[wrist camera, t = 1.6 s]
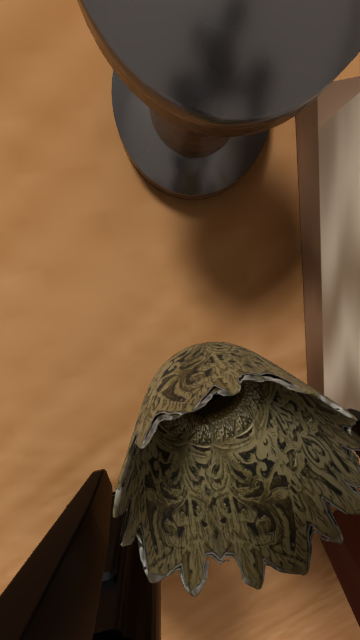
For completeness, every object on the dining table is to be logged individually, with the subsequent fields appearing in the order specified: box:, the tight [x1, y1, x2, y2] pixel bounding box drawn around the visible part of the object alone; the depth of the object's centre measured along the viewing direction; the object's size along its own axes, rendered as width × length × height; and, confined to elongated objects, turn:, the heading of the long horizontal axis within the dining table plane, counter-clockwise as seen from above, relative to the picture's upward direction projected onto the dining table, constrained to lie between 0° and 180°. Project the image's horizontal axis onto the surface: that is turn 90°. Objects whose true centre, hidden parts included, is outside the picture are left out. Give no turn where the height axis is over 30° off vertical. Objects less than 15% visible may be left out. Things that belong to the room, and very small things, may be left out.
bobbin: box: [77, 0, 360, 200], centre depth 7 cm, size 7×7×6 cm
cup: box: [113, 342, 360, 597], centre depth 10 cm, size 8×7×8 cm
